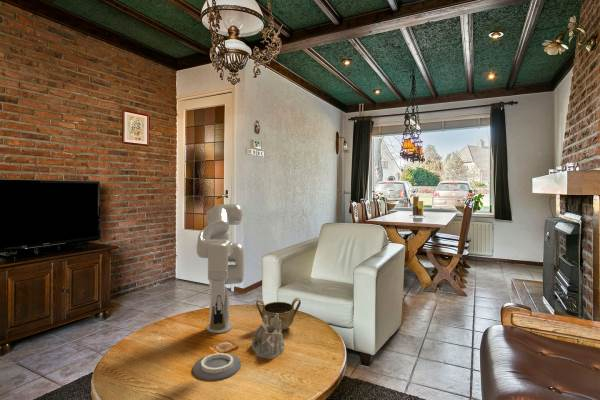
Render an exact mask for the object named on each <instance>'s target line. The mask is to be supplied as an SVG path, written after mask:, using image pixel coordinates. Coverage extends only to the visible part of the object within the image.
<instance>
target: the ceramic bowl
mask: <svg viewBox="0 0 600 400" xmlns="http://www.w3.org/2000/svg"><path fill="white" fill-rule="evenodd" d="M296 302H298V303H297V305H296V307H295V304H296ZM259 303H261V304H262V310H261V308H260V306H259ZM301 303H302V301H301V298H300V297H295V298H293V300H292V302H291V303H289V302H286V301H272V302H268V303H266V304H265V302H264V300H263V299H261V298H258V299H257V300H256V303H255V305H256V308H257V309H258V313H259V315H260V317H261V320H262V321H263V319H264V316H265V315H266V316H267V317H268V325H269V326H270V321H271V318H274V316H275V315H276V314H277V313H278V314H279V320H281V323H282V331H284V330H287V329H288V328H290V327H291V326H292V324H293V323H294V319H295V317H296V314H297V313H298V310H299V309H300V306H301ZM294 307H295V308H294Z"/></svg>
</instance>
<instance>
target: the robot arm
mask: <svg viewBox="0 0 600 400" xmlns="http://www.w3.org/2000/svg"><path fill="white" fill-rule="evenodd" d="M242 219H243V209H242V207H241V206H240V205H239V204H231V203H229V204H224V203H223V204H215V205H214V206H213V207H212V208H211V209H209V210H207V211H206V222H207V226H205V227H204V228H202V229H201V231H200V232H199V234H198V236H197V242H196V254H197V256H198V258H201V259H207V280H208V284H209V322H210V321H211V314H212V307H213V306H214V307H215V314H214V324H218V323H219V324H222V323H223V313H222V306H223V305H224V306H223V310H224V318H225V326H226V327H225V328H223V329H220V330H212V329H210V323H208V324H207V325H206V331H207V332H209V333H211V334H222V333H227V332H229V331H230V330H232V328H233V323H232V322H230V291H229V289H228V288H227V287H226V285H238V284H241V283H243V282H244V280H245V260H244V259H245V257H244V256H245V255H244V254H245V253H244V248H243V245H242V244H240V243H238V242H236V243H235V242H232V241H231V240H230V239H229V237H230V234H229V229H230V226H239V225H240V224H241V223H242ZM229 263H234V264H229ZM224 301H225V304H224ZM216 304H217V305H216ZM216 307H217V308H216Z"/></svg>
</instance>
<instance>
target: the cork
mask: <svg viewBox="0 0 600 400" xmlns="http://www.w3.org/2000/svg"><path fill="white" fill-rule="evenodd" d="M224 304H225V301H224ZM216 305H217V304H216ZM223 306H224V305H223ZM223 306H222V313H223V323H222V324H219V323H218V324H214V314H215V307H214V306H213V307H212V314H211V321H210V320H209V324H210V329H212V330H220V329H223V328H225V327H226V326H225V318H224V310H223ZM216 308H217V307H216Z"/></svg>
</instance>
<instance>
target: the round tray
mask: <svg viewBox="0 0 600 400" xmlns="http://www.w3.org/2000/svg"><path fill="white" fill-rule="evenodd" d="M241 362H242V361H241V359H240V358H239V357H238V356H237V355H236V354H235V355H234V354H231V353H225V352H218V353H212V354H209V355H205V356H203V357H201V358H199V359H198V360H197V361H196V362H195V363H194V365H193V367H192V372H193V375H194V376H195V377H197V378H198V379H201V380H203V381H219V380H224V379H227V378H230V377H232V376H234V375H236V374H237V373H238V372H239V371H240V370H241V365H242V363H241Z"/></svg>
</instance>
